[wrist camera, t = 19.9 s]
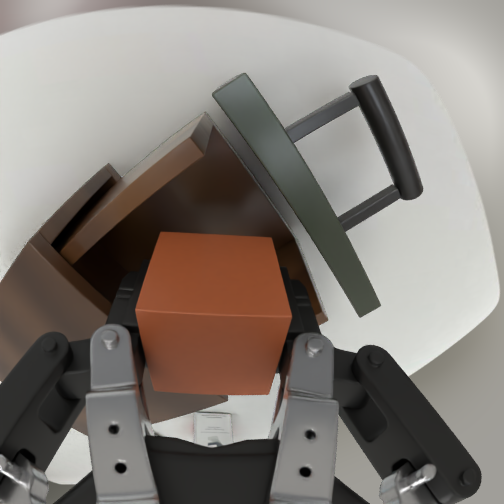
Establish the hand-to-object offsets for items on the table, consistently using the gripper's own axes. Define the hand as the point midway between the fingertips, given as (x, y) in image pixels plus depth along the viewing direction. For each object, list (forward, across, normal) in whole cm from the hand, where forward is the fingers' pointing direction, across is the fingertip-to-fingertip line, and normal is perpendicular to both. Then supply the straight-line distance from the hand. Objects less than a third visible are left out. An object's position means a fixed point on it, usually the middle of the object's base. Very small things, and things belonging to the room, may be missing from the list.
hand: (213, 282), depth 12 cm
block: (0, 0, 0) cm, 0 cm away
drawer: (+7, -1, -1) cm, 7 cm away
